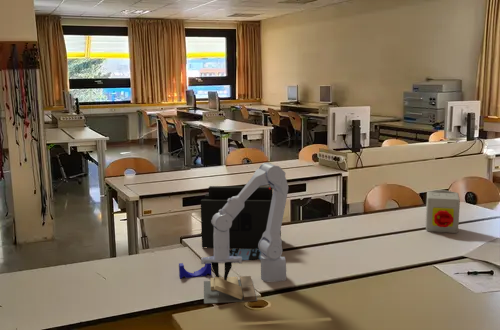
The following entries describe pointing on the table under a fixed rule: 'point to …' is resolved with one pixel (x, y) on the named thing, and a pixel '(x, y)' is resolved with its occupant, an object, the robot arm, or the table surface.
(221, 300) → the underlay mat
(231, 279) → the oak plank far
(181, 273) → the blue cradle bracket
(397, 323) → the table surface
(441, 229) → the electrical switch box
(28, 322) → the table surface
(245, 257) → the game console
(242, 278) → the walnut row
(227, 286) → the oak plank near
